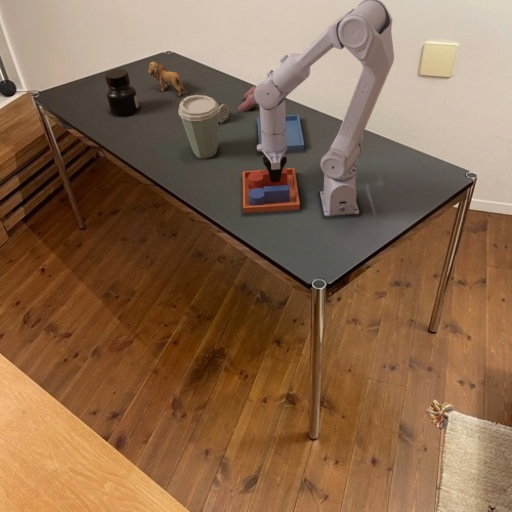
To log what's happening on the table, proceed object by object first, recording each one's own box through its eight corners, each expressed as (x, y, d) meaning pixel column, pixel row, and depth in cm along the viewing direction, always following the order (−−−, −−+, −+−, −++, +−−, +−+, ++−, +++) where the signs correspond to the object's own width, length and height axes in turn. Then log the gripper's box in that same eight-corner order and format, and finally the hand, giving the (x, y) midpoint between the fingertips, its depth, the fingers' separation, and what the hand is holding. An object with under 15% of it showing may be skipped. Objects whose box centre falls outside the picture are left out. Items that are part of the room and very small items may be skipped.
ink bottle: (145, 109, 162) (137, 72, 153) (123, 120, 157) (113, 82, 149) (127, 100, 167) (118, 64, 159) (105, 111, 162) (95, 74, 154)
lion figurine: (149, 90, 172) (143, 64, 166) (158, 84, 175) (153, 58, 169) (185, 97, 166) (180, 70, 160) (194, 90, 169) (190, 64, 163)
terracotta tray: (299, 211, 119) (299, 204, 117) (243, 214, 119) (243, 207, 118) (294, 174, 130) (294, 167, 128) (243, 178, 130) (242, 171, 129)
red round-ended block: (286, 178, 128) (286, 166, 126) (287, 187, 125) (287, 175, 123) (248, 180, 128) (247, 168, 126) (249, 189, 125) (248, 178, 123)
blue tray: (304, 151, 138) (304, 144, 136) (259, 154, 138) (259, 147, 137) (298, 120, 150) (298, 114, 149) (257, 123, 151) (257, 117, 149)
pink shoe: (249, 118, 156) (258, 99, 152) (236, 111, 156) (245, 92, 151) (256, 103, 163) (265, 85, 159) (243, 97, 163) (251, 78, 158)
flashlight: (179, 115, 157) (176, 99, 154) (189, 108, 161) (186, 91, 157) (219, 126, 151) (217, 109, 147) (229, 118, 154) (227, 101, 150)
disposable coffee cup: (230, 145, 142) (224, 95, 132) (215, 166, 135) (208, 114, 125) (196, 140, 145) (188, 91, 135) (179, 160, 138) (169, 109, 128)
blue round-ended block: (289, 194, 123) (288, 182, 121) (290, 204, 120) (290, 192, 118) (249, 197, 123) (248, 185, 121) (249, 207, 120) (248, 195, 118)
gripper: (255, 114, 122) (258, 163, 131) (256, 146, 111) (260, 196, 120) (284, 112, 122) (285, 161, 131) (288, 144, 111) (289, 194, 120)
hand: (275, 178), depth 126 cm, fingers closed on red round-ended block, 2 cm apart
